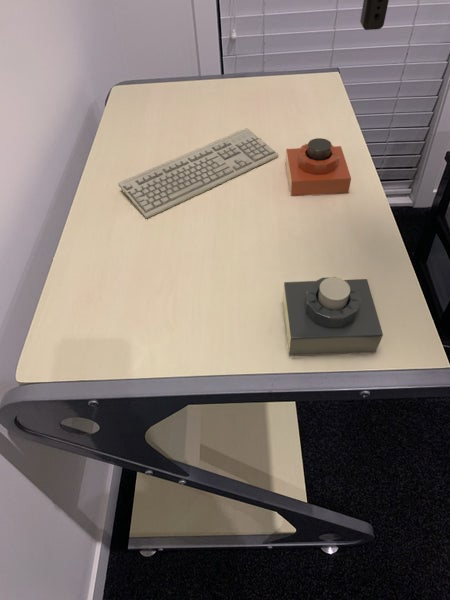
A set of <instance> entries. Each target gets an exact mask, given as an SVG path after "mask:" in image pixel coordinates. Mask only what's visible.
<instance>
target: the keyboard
mask: <svg viewBox="0 0 450 600" xmlns="http://www.w3.org/2000/svg"><path fill="white" fill-rule="evenodd" d="M278 157H279V153H278V152H277V151H276V150H274V149H273V148H272V147H271V146H269V145H268V144H267V143H266V142H265V141H264V140H262V139H261V138H260V137H259V136H258V135H256V134H255V133H254V132H253V131H252V130H251V129H249V128H248V127H245V128H243V129H240V130H239V131H236V132H234V133H231V134H229V135H227V136H224V137H222V138H219V139H217V140H215V141H212V142H211V143H208V144H205V145H203V146H201V147H199V148H196V149H194V150H192V151H188V152H186V153H184V154H182V155H180V156H177V157H174V158H173V159H171V160H169V161H165V162H164V163H161V164H159V165H157V166H154V167H151V168H149V169H146V170H144V171H143V172H139V173H137V174H135V175H133V176H131V177H128V178H126V179H124V180H122V181H119V182H118V183H117V184H118V187H119V188H120V189H121V191H122V192H123V193H124V194H125V195H126V196H127V197H128V199H129V200H130V201H131V202H132V203H133V204H134V206H135V207H136V208H137V210H139V212H140V213H141V214H142V215H143V216H144V218H146V219H148V218H152V217H153V216H155V215H157V214H160V213H162V212H165V211H166V210H169V209H171V208H172V207H174V206H176V205H179V204H181V203H183V202H185V201H188V200H189V199H192V198H194V197H196V196H198V195H200V194H203V193H205V192H207V191H209V190H212V189H213V188H215V187H217V186H220V185H222V184H224V183H226V182H228V181H230V180H233V179H234V178H237V177H238V176H241V175H243V174H245V173H248V171H249V172H250V171H251V170H254V169H255V168H258V167H260V166H262V165H264V164H266V163H269V162H270V161H272V160H275V159H276V158H278Z"/></svg>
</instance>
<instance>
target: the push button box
mask: <svg viewBox="0 0 450 600" xmlns="http://www.w3.org/2000/svg"><path fill="white" fill-rule="evenodd" d="M331 277H332V276H329V277H320V278H319V279H317V280H307V281H306V280H305V281H284V282H283V289H282V290H283V292H282V308H283V316H284V326H285V334H286V342H287V343H286V344H287V352H288V356H306V355H307V356H309V355H312V356H313V355H336V354H337V355H338V354H370V353H372V354H373V353H377V351H378V349H379V346H380V343H381V341H382V338H383V336H384V333H383V330H382V325H381V322H380V318H379V315H378V312H377V308H376V305H375V302H374V298H373V294H372V292H371V291H372V290H371V288H370V283H369V280H368V278H358V279H357V278H356V279H355V278H354V279H343V280H344V281H346V282H347V283H348V285H349V286H350V294H349V298H348V302H347V304H346V306H345V307H344V308H342V309H340V310H329V309H326V308H324V307H323V306H322V305H321V304H320V303H319V301H318V293H319V288H320V284H321V282H322V281H323V280H325V279H327V278H331ZM335 277H336V276H335ZM336 278H338V277H336Z"/></svg>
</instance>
